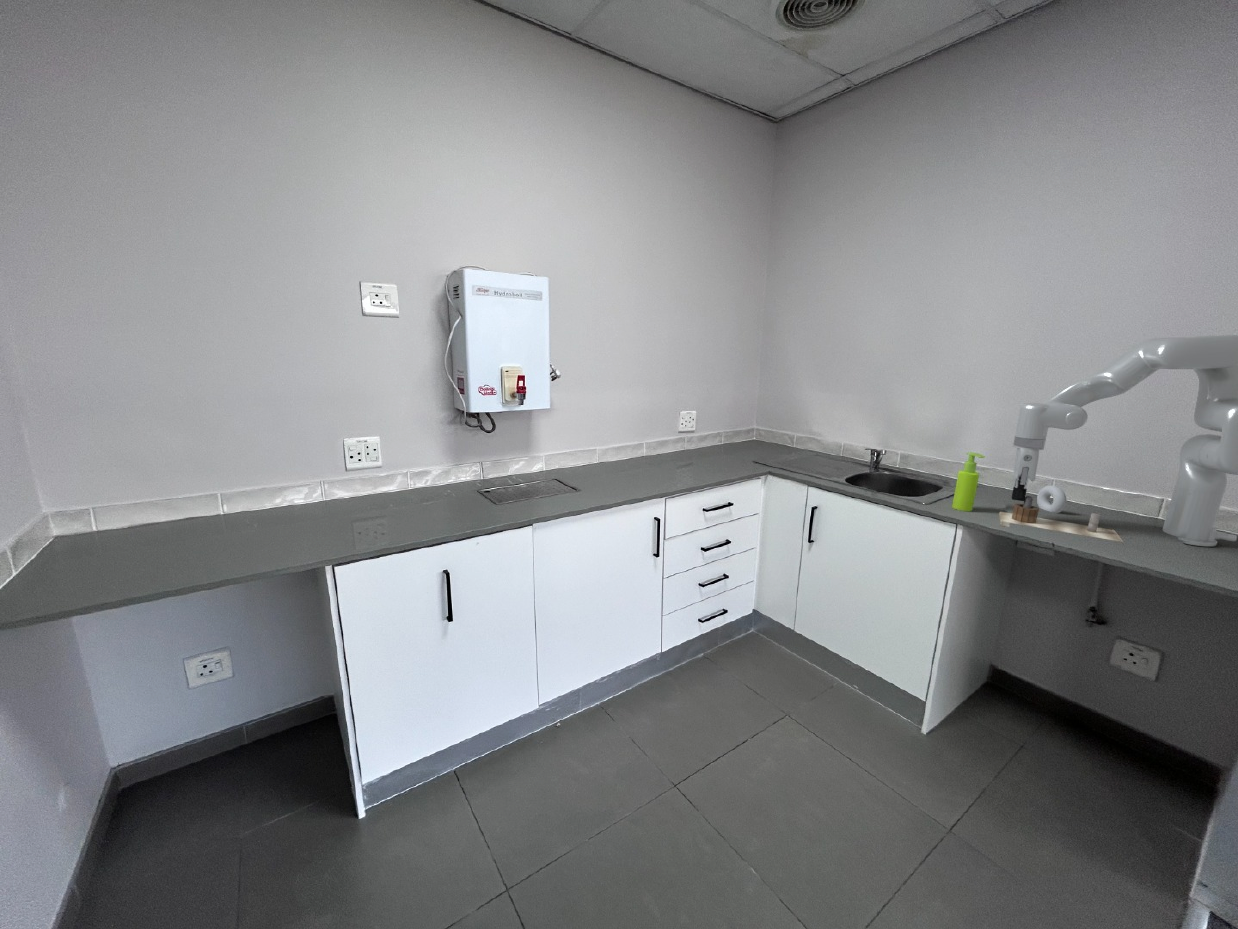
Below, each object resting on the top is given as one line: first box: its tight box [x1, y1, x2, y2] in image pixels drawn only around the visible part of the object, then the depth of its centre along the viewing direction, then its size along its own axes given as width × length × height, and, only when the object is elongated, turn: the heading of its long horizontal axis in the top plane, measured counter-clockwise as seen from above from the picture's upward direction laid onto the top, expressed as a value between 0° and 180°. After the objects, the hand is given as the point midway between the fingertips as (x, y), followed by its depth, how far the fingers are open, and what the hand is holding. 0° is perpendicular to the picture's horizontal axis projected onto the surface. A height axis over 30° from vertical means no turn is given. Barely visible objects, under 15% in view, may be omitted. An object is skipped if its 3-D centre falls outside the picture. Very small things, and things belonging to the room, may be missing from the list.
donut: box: [1036, 485, 1067, 514], centre depth 169 cm, size 10×4×10 cm, turn 179°
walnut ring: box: [1011, 503, 1040, 523], centre depth 158 cm, size 6×6×4 cm
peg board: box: [998, 495, 1124, 543], centre depth 153 cm, size 28×12×10 cm, turn 55°
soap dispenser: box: [951, 452, 985, 512], centre depth 171 cm, size 6×7×20 cm
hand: (1017, 499), depth 159 cm, fingers closed
